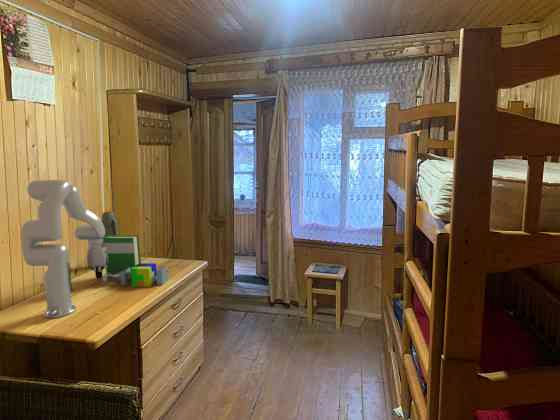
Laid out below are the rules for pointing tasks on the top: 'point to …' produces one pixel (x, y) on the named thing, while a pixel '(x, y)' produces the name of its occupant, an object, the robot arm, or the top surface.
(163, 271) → the vise body
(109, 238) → the hardback book
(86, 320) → the top surface
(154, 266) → the puzzle toy
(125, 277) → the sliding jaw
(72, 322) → the top surface
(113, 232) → the stone tower
